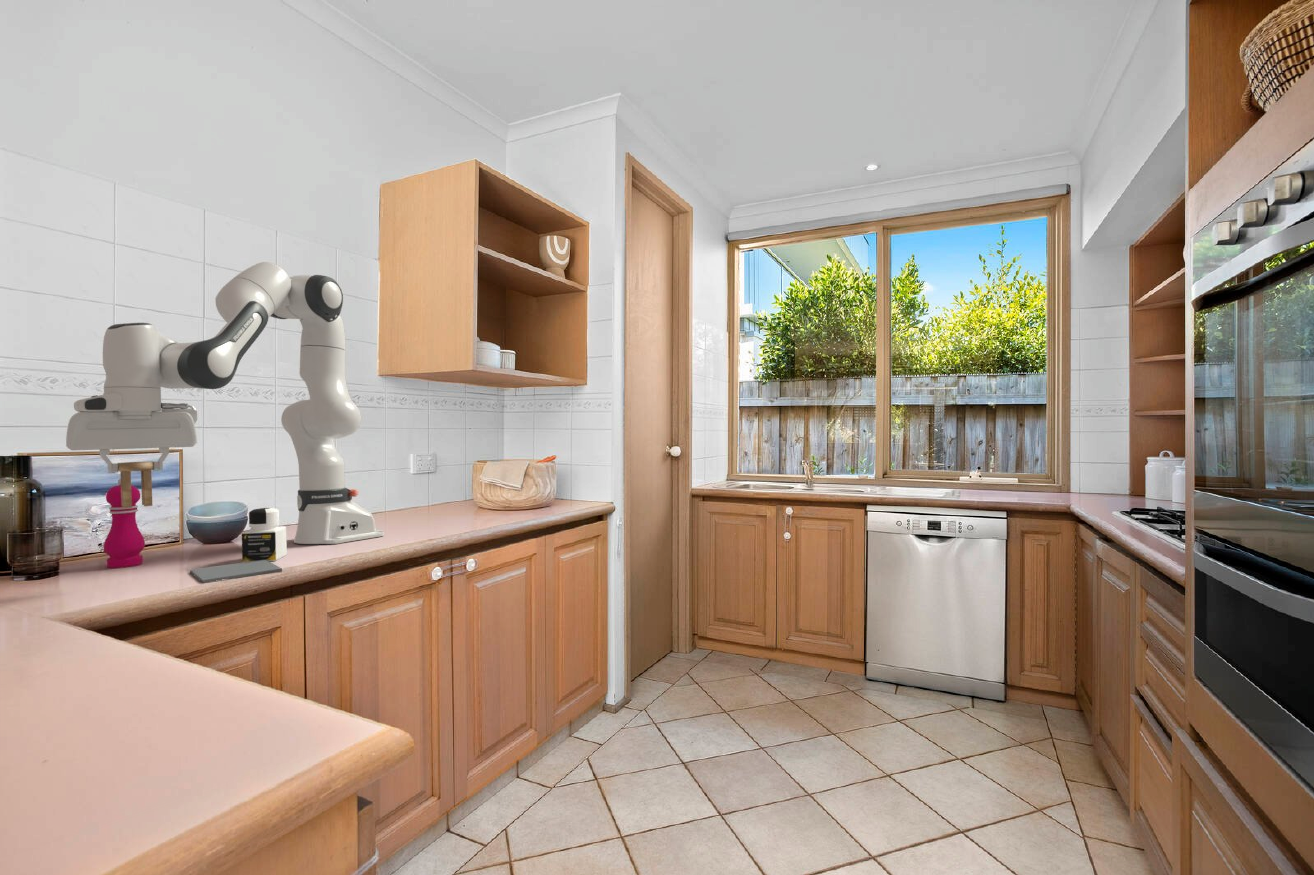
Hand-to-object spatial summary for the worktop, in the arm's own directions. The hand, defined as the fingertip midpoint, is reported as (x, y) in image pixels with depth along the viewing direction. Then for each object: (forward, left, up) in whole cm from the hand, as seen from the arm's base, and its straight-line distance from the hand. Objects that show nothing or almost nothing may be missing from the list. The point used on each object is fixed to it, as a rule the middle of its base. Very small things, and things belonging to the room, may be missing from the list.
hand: (135, 471), depth 127 cm
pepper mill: (0, -24, -23) cm, 33 cm away
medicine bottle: (-24, -7, -23) cm, 34 cm away
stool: (0, 0, -7) cm, 7 cm away
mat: (-16, +4, -22) cm, 28 cm away
